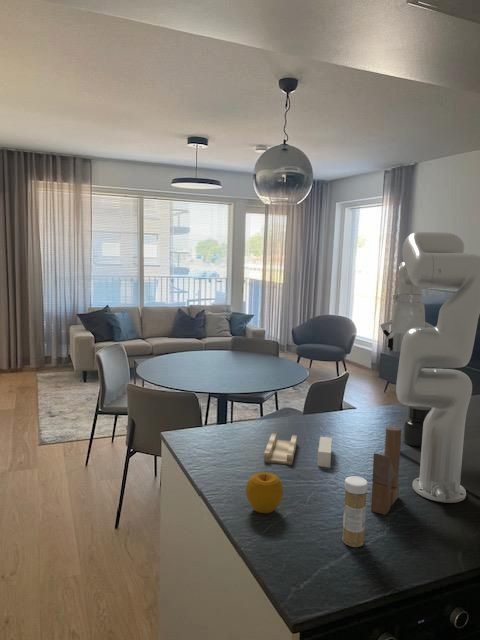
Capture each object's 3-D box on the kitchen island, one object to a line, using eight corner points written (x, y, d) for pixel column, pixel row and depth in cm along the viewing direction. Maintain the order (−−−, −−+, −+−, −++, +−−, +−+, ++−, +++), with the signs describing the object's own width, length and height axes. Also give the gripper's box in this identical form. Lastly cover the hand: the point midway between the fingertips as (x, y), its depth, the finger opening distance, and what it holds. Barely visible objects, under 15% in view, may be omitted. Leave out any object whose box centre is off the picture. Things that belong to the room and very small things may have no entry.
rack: (291, 464, 137) (292, 455, 137) (263, 461, 139) (264, 452, 139) (296, 444, 153) (296, 435, 153) (271, 441, 154) (271, 433, 154)
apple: (251, 523, 107) (252, 484, 106) (240, 504, 115) (241, 468, 114) (287, 517, 109) (288, 480, 108) (274, 499, 117) (275, 465, 116)
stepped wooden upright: (370, 511, 113) (374, 437, 110) (384, 493, 122) (388, 424, 119) (386, 516, 111) (390, 440, 108) (399, 497, 120) (403, 427, 117)
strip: (330, 468, 136) (330, 452, 136) (317, 466, 137) (318, 451, 136) (331, 451, 148) (331, 437, 147) (319, 450, 149) (320, 436, 148)
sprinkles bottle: (349, 533, 103) (352, 473, 102) (368, 541, 100) (372, 480, 99) (337, 542, 100) (340, 480, 98) (357, 551, 97) (360, 487, 95)
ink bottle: (429, 438, 160) (431, 403, 159) (437, 448, 151) (439, 411, 150) (398, 437, 161) (401, 402, 160) (405, 447, 152) (407, 410, 151)
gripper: (382, 299, 156) (379, 351, 158) (439, 301, 153) (435, 354, 155) (381, 297, 164) (378, 347, 166) (435, 299, 160) (431, 350, 162)
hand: (406, 350), depth 160 cm, fingers open, 9 cm apart
